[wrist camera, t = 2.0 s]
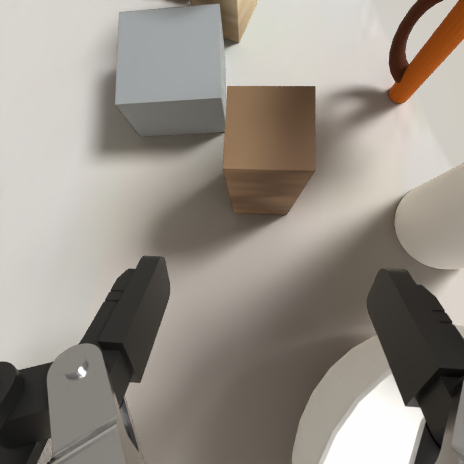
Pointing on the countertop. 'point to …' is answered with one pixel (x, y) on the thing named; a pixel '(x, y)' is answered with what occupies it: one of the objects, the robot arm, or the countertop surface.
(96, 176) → the countertop surface
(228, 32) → the oak block
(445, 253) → the cylindrical container
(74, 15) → the countertop surface
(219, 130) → the base block
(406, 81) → the knife
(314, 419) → the bowl
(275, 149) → the walnut block
